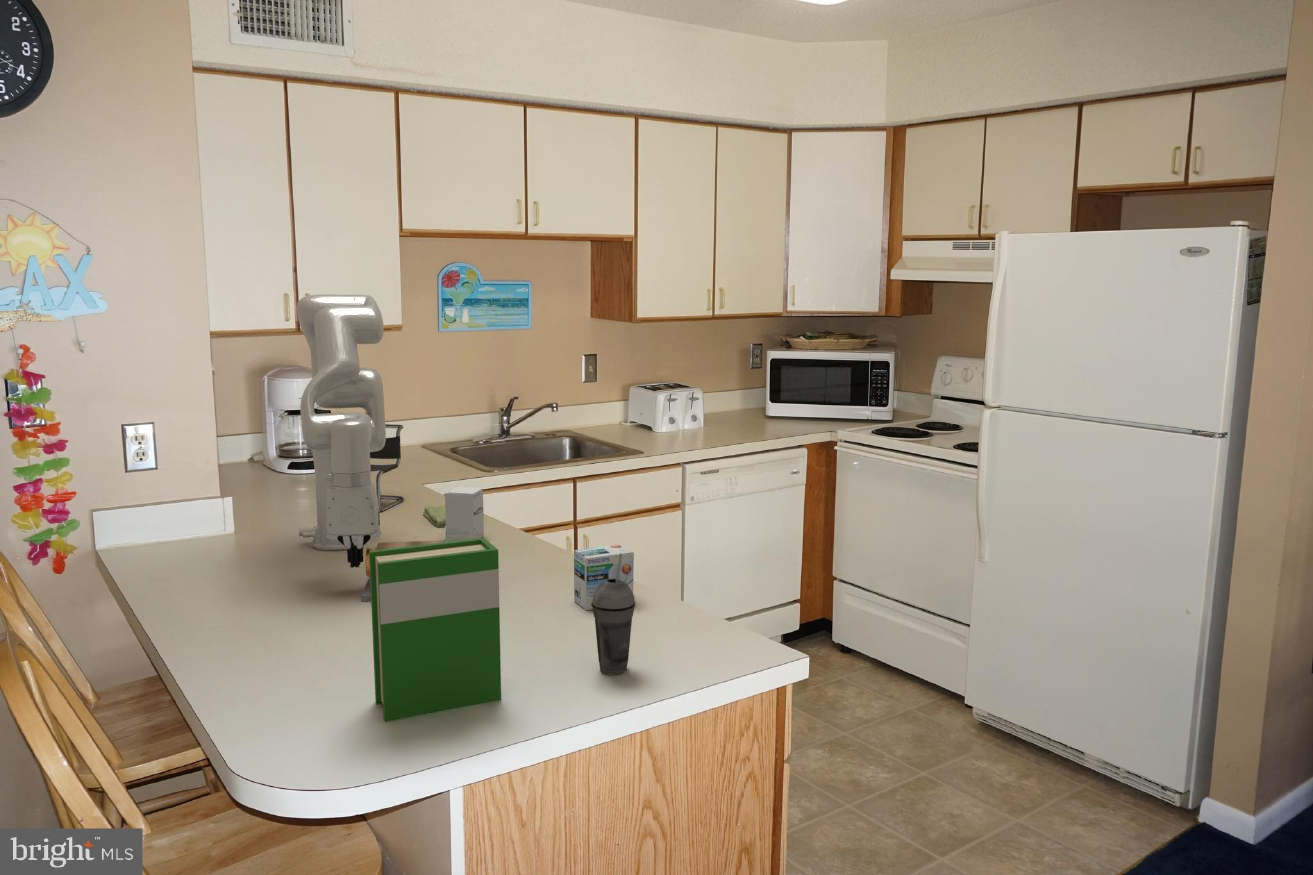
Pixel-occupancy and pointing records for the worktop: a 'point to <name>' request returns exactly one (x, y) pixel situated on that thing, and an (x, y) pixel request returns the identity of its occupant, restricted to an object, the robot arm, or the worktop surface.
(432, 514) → the washcloth
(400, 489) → the worktop surface
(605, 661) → the beverage cup
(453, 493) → the supplement box
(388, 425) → the chair
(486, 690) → the hardback book
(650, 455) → the worktop surface
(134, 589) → the worktop surface
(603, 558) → the light bulb box
